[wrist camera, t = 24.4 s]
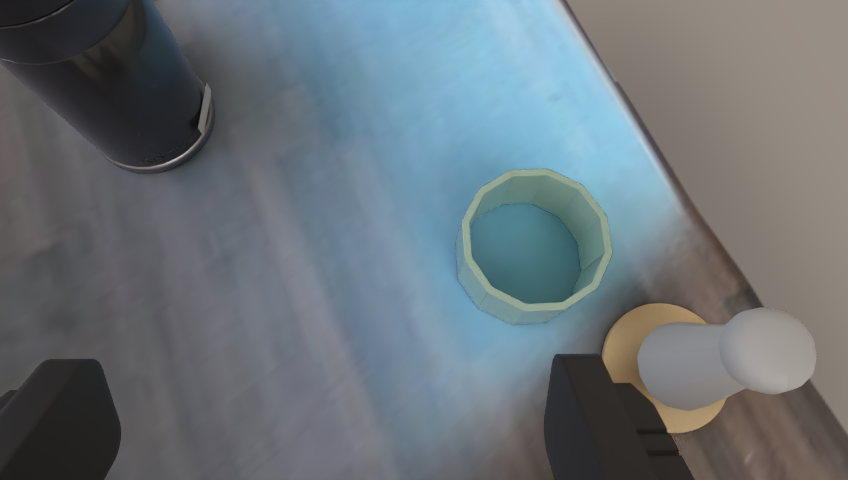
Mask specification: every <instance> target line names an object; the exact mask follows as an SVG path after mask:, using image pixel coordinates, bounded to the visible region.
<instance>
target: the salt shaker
mask: <svg viewBox="0 0 848 480" xmlns="http://www.w3.org/2000/svg"><path fill="white" fill-rule="evenodd" d="M816 359H817V355H816V351H815V345H814V340H813V338H812V336H811V335H810V333H809V332H808V331H807V329H806V328H805V326H804V325H803V323H802V322H801V321H799V320H798V319H796V318H795V317H793V316H792V315H791V314H789V313H788V312H786V311H783V310H778V309H773V308H768V307H765V308H756V309H752V310H748V311H743V312H741V313H739V314H736V315H735V316H734V317H733V318H732V319H731V320H730V321H729V322H728V323H727V324H726V325H720V324H706V323H691V322H672V323H667V324H663V325H659V326H657V327H656V328H655V329H654V330H653V331H652V332H651V333H650V334H649V335H648V336H647V337H646V338H645V339H644V340H643V342H642V345H641V347H640V350H639V353H638V355H637V361H638V368H639V375H640V378H641V380H642V381H643V383H644V385H645V387H646V388H647V390H648V392H649V394H650V395H652V396H653V397H655V398H656V399H657V400H659V401H660V402H662V403H663V404H664V405H666V406H668V407H672V408H676V409H681V410H685V411H693V410H696V409H700V408H704V407H707V406H710V405H712V404H714V403H716V402H718V401H720V400H722V399H724V398H726V397H729V396H731V395H733V394H735V393H737V392H739V391H741V390H743V389H745V388H747V389H749V390H753V391H757V392H761V393H766V394H779V393H782V392H786V391H789V390H793V389H796V388H798V387H801V386H802V385H803V384H804V383H805V382H806V381H807V380H808V379H809V378H810V377H811V376H812V375H813V372H814V368H815V364H816Z"/></svg>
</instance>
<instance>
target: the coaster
mask: <svg viewBox="0 0 848 480" xmlns="http://www.w3.org/2000/svg"><path fill="white" fill-rule="evenodd" d="M672 322H691V323H706V322H705V321H704V320H703V319H702V318H700V317H699V316H697V315H696V314H694V313H693V312H691V311H689V310H687V309H684V308H682V307H679V306H676V305H672V304H665V303H654V304H647V305H643V306H640V307H637V308H635V309H633V310H631V311H629V312H627V313H626V314H624V315H623V316H622V317H620V318H619V319H618V320H617V321H616V322H615V323H614V325H613V326H612V328H611V329H610V330H609V332H608V334H607V336H606V339H605V342H604V345H603V350H602V360H603V362H604V364H605V366H606V368H607V370H608V372H609V374H610V376H611V379H612V381H613V383H631V384H633V385H634V386H635V387H636V388H637V389H638V390H639V391H640V392H641V393H642V394H643V395H645V396H646V397H647V398H648V399H649V400H650V401H651V402H652V403H653V404H654V405H655V407H656V409H657V411H658V413H659V415H660V416H661V418H662V420H663V422H664V424H665V426H666V428H667V433H683V432H689V431H692V430H696V429H698V428H700V427H702V426H704V425H705V424H707V423H708V422H710V421H711V420H712V419H713V418H714V417H715V416H716V415H717V414H718V413H719V411H720V410H721V408H722V407H723V405H724V403H725V401H726V399H727V397H726V398H724V399H722V400H720V401H718V402H716V403H714V404H712V405H710V406H707V407H704V408H700V409H696V410H693V411H685V410H681V409H676V408H672V407H668V406H666V405H664V404H663V403H662V402H660V401H659V400H657V399H656V398H655V397H653V396H652V395H650V394H649V392H648V390H647V388H646V387H645V385H644V383H643V381H642V380H641V378H640V375H639V368H638V361H637V355H638V353H639V350H640V347H641V345H642V342H643V340H644V339H645V338H646V337H647V336H648V335H649V334H650V333H651V332H652V331H653V330H654V329H655V328H656V327H657V326H659V325H663V324H667V323H672ZM706 324H707V323H706Z"/></svg>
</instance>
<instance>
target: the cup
mask: <svg viewBox="0 0 848 480" xmlns="http://www.w3.org/2000/svg"><path fill="white" fill-rule="evenodd" d="M530 203H531V204H533V205H535V206H537V207H539V208H541V209H543V210H545V211H547V212H550V213H552V214H554V215H556V216H558V217H559V218H560V219H561V221H562V222H563V223H564V225H565V226H566V227H567V229H568V230H569V231H570V233H571V234H572V235H573V237H574V238H575V239H576V241H577V245H578V252H579V259H580V267H581V273H580V275H579V278H578V280H577V282H576V284H575V287H574V289H573V291H572V293H571V296H570V297H569V298H568V299H566V300H565V301H563V302H554V303H531V304H526V303H524V302H522V301H520V300H518V299H516V298H514V297H512V296H510V295H508V294H506V293H504V292H502V291H500V290H498V289H496V288H494V287H492V285H491V284H490V282H489V281H488V280H487V278H486V277H485V275H484V274H483V272H482V271H481V269H480V268H479V267H478V265H477V264H476V262H475V261H474V259H473V258H472V251H471V238H470V229H471V227H472V226H473V224H474V222H475V220H476V219H478V218H479V217H481V216H483V215H484V214H486V213H488V212H489V211H491V210H492V209H494V208H496V207H497V206H499V205H503V204H530ZM455 249H456V264H457V278H458V280H459V282H460V283H461V285H462V286H463V287H464V289H465V290H466V292H467V293H468V295H469V296H470V298H471V299H472V301H473V302H474V304H475V305H476V307H477V308H478V309H480V310H482V311H484V312H486V313H488V314H490V315H492V316H494V317H496V318H498V319H500V320H502V321H504V322H506V323H508V324H511V325H515V324H537V323H547V322H548V321H550V320H551V319H553V318H554V317H556V316H557V315H559V314H560V313H562V312H563V311H565V310H566V309H568V308H569V307H571V306H572V305H574V304H575V303H577V302H578V301H579V300H581V299H582V298H584V297H585V296H587V295H588V294H590V293H591V292H593V291H594V290H596V289H597V288H598V286H599V284H600V282H601V279H602V277H603V275H604V272H605V270H606V268H607V265H608V263H609V261H610V258H611V256H612V246H611V240H610V233H609V226H608V220H607V216H606V214H605V213H604V211H603V210H602V209H601V208H600V206H599V205H598V204H597V202H596V201H595V200H594V198H593V197H592V196H591V195H590V193H589V192H588V191H587V189H586V188H585V187H584V186H583V185H582V184H580V183H578V182H575V181H573V180H571V179H569V178H567V177H565V176H563V175H561V174H558V173H556V172H554V171H552V170H550V169H524V170H511V171H510V170H509V171H508V172H506V173H504V174H503V175H501V176H499V177H498V178H496V179H494V180H493V181H491V182H489V183H488V184H486V185H484V186H483V187H481V188H480V189H479V190H478V191H477V193H476V195H475V197H474V199H473V201H472V203H471V205H470V207H469V208H468V210H467V212H466V214H465V216H464V218H463V220H462V223H461V227H460V230H459V234H458V237H457V241H456V245H455Z"/></svg>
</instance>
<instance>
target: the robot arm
mask: <svg viewBox="0 0 848 480" xmlns="http://www.w3.org/2000/svg"><path fill="white" fill-rule="evenodd" d="M0 63H1V64H2V65H3V66H4V67H5V68H6V69H8V70H9V71H10V72H11V73H12V74H13V75H14V76H15V77H17V78H18V79H19V80H20V81H21V82H22V83H23V84H25V85H26V86H27V87H28V88H29V89H30V90H31V91H33V92H34V93H35V94H36V95H37V96H38V97H39V98H41V99H42V100H43V101H44V102H45V103H46V104H47V105H49V106H50V107H51V108H52V109H53V110H54V111H55V112H57V113H58V114H59V115H60V116H61V117H62V118H63V119H65V120H66V121H67V122H68V123H69V124H70V125H71V126H72V127H74V128H75V129H76V130H77V131H78V132H79V133H80V134H81V135H82V136H84V137H85V138H86V139H87V140H88V141H89V142H90V143H92V144H93V145H94V146H95V147H96V148H97V150H98V151H99V152H100V153H101V154H102V155H103V156H105V157H106V158H107V159H108V160H109V161H110V162H112V163H113V164H115V165H116V166H118V167H120V168H122V169H125V170H128V171H131V172H137V173H157V172H162V171H166V170H170V169H172V168H175V167H177V166H179V165H181V164H183V163H185V162H186V161H188V160H189V159H190V158H192V157H193V156H194V155H195V154H196V153H197V152H198V151H199V150H200V149H201V148H202V147H203V145H204V144H205V143H206V141H207V139H208V137H209V136H210V133H211V131H212V128H213V124H214V116H215V112H214V104H213V100H212V98H211V89H210V87H209V86H208V84H207V82H206V87H205V85H204V84H203V82H202V81H201V80H200V78H199V77H198V76H197V75H196V73H195V71H194V70H193V68H192V66H191V64H190V62H189V61H188V59H187V58H186V56H185V54H184V53H183V51H182V49H181V48H180V46H179V44H178V43H177V41H176V40H175V38H174V36H173V35H172V33H171V31H170V30H169V28H168V26H167V25H166V23H165V22H164V20H163V18H162V17H161V15H160V13H159V12H158V10H157V8H156V7H155V5H154V4H153V2H152V0H0ZM544 435H545V444H546V450H547V454H548V458H549V462H550V465H551V469H552V472H553V476H554V479H555V480H694V478H693V476H692V474H691V472H690V470H689V469H688V467H687V465H686V463H685V461H684V459H683V457H682V456H679V452H678V451H679V450H678V448H677V446H676V444H675V442H674V441H673V439H672V437H671V435H670V434H668V433H667V428H666V426H665V424H664V422H663V420H662V418H661V416H660V415H659V413H658V411H657V409H656V407H655V405H654V404H653V403H652V402H651V401H650V400H649V399H648V398H647V397H646V396H645V395H643V394H642V393H641V392H640V391H639V390H638V389H637V388H636V387H635V386H634V385H633V384H631V383H613V381H612V379H611V376H610V374H609V372H608V370H607V368H606V366H605V364H604V362H603V360H602V358H601V356H600V355H598V354H556V355H555V356H554V358H553V362H552V368H551V375H550V382H549V389H548V396H547V403H546V410H545V417H544ZM120 440H121V426H120V421H119V418H118V415H117V412H116V409H115V406H114V403H113V400H112V396H111V393H110V390H109V387H108V384H107V381H106V378H105V375H104V372H103V369H102V366H101V365H100V363H99V362H98V361H97V360H95V359H50V360H46V361H44V362H42V363H41V364H40V365H39V366H38V367H37V368H36V369H35V371H34V372H33V373H32V374H31V375H30V376H29V378H28V379H27V380H26V381H25V382H24V383H23V385H22V386H21V387H20V388H19V389H18V390H10V391H9V392H7V393H6V394H5V395H3V396H2V397H0V480H104V479H105V477H106V475H107V473H108V471H109V470H110V468H111V466H112V464H113V462H114V460H115V458H116V456H117V453H118V450H119V446H120Z"/></svg>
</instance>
